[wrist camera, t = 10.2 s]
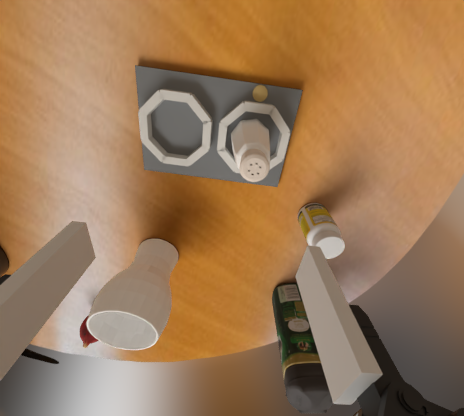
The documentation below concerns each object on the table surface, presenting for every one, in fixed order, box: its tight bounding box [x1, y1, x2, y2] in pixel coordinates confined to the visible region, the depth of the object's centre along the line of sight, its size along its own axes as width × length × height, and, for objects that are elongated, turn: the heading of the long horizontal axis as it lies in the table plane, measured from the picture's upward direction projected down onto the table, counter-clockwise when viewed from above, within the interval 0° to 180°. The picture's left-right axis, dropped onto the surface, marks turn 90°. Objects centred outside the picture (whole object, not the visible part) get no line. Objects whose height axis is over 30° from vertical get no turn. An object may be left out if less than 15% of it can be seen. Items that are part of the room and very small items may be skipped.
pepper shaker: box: [231, 119, 270, 182], centre depth 25 cm, size 5×5×11 cm
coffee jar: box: [272, 283, 334, 413], centre depth 39 cm, size 10×8×19 cm
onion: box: [80, 316, 99, 348], centre depth 49 cm, size 6×6×8 cm
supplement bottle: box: [298, 203, 345, 259], centre depth 33 cm, size 5×5×8 cm
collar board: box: [135, 66, 303, 187], centre depth 29 cm, size 20×13×2 cm, turn 83°
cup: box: [86, 239, 179, 350], centre depth 36 cm, size 11×11×15 cm
